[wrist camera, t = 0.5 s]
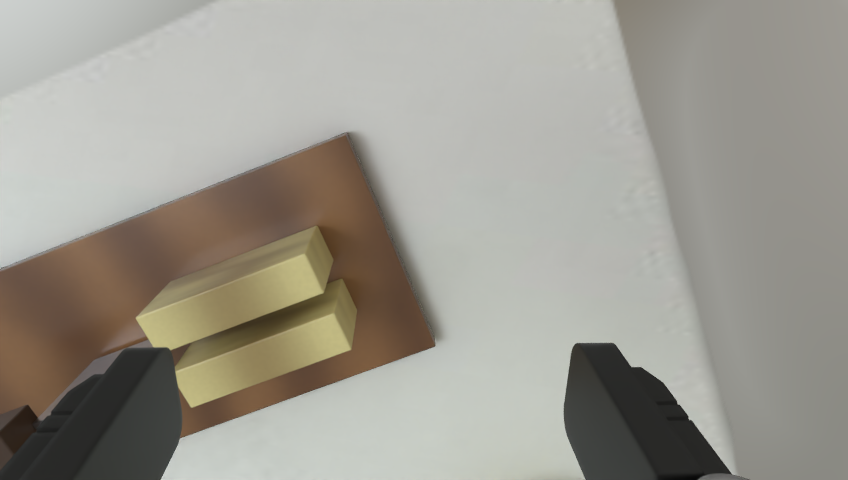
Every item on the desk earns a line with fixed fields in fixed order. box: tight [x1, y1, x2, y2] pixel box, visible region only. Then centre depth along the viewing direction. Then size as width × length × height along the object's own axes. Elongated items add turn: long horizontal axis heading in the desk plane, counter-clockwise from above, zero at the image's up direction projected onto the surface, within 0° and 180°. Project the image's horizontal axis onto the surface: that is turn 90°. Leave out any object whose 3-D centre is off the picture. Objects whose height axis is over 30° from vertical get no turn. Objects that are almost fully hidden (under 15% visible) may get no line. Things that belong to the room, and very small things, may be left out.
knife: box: [0, 339, 153, 470], centre depth 26 cm, size 11×2×7 cm, turn 111°
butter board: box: [0, 132, 435, 438], centre depth 27 cm, size 24×12×5 cm, turn 111°
